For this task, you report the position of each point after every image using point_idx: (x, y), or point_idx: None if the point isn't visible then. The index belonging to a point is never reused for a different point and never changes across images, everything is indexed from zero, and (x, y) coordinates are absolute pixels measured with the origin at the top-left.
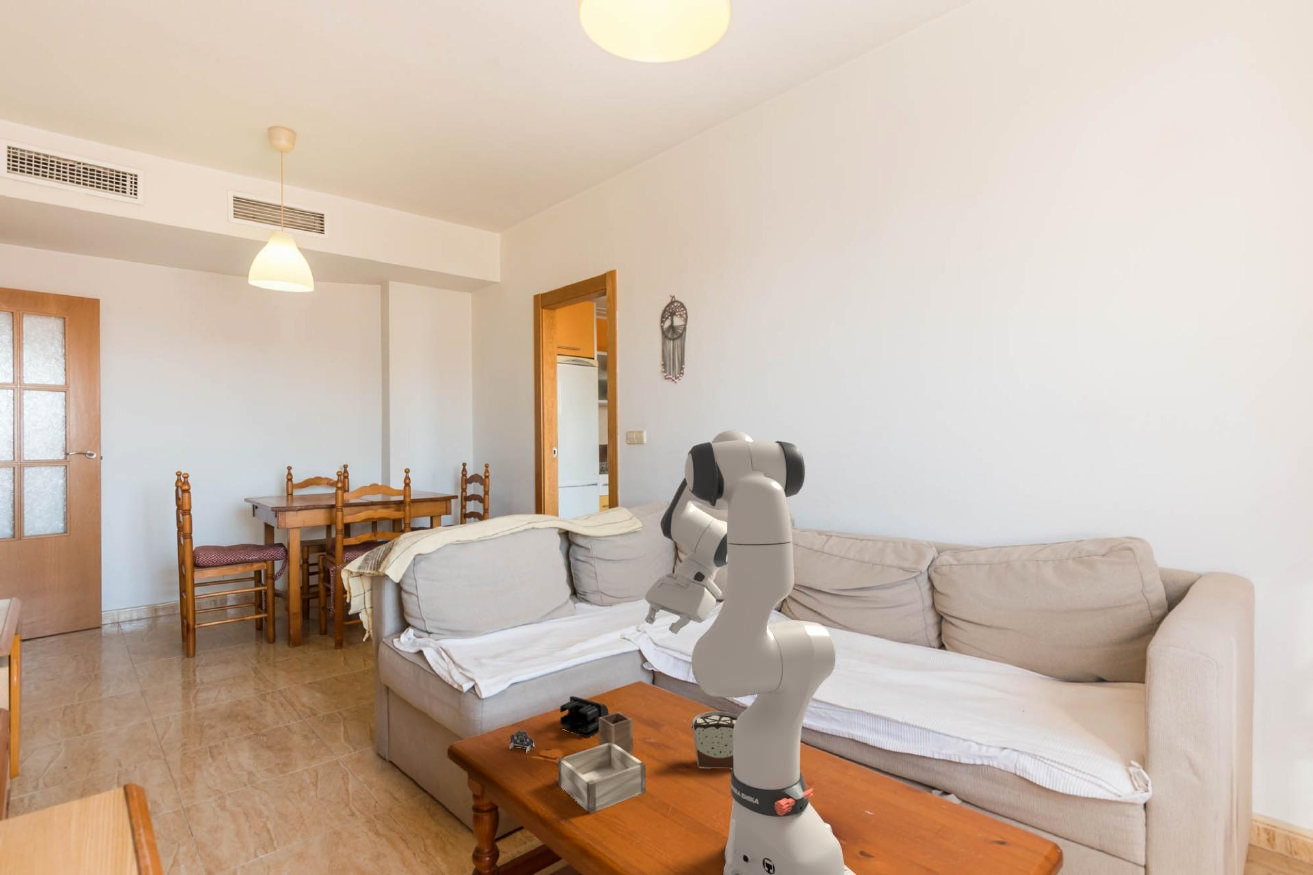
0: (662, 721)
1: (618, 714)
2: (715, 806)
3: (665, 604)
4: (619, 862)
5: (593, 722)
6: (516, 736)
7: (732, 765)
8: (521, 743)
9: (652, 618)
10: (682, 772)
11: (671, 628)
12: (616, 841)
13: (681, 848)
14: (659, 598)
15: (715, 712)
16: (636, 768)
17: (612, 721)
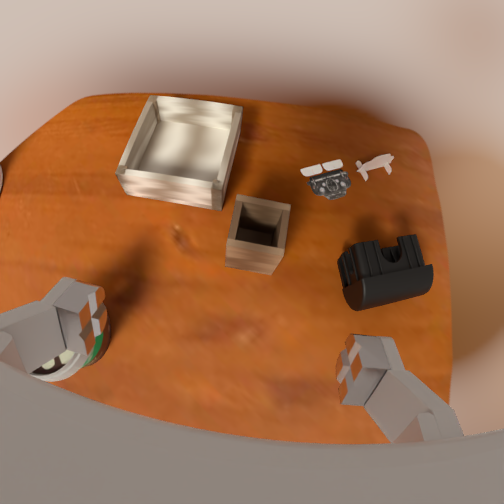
0: (289, 414)
1: (276, 248)
2: (35, 232)
3: (243, 442)
4: (80, 99)
5: (351, 268)
6: (386, 157)
7: None
8: (376, 164)
9: (350, 370)
10: (115, 276)
11: (76, 281)
12: (99, 112)
13: (38, 148)
14: (417, 486)
15: (68, 363)
16: (121, 158)
17: (277, 237)
